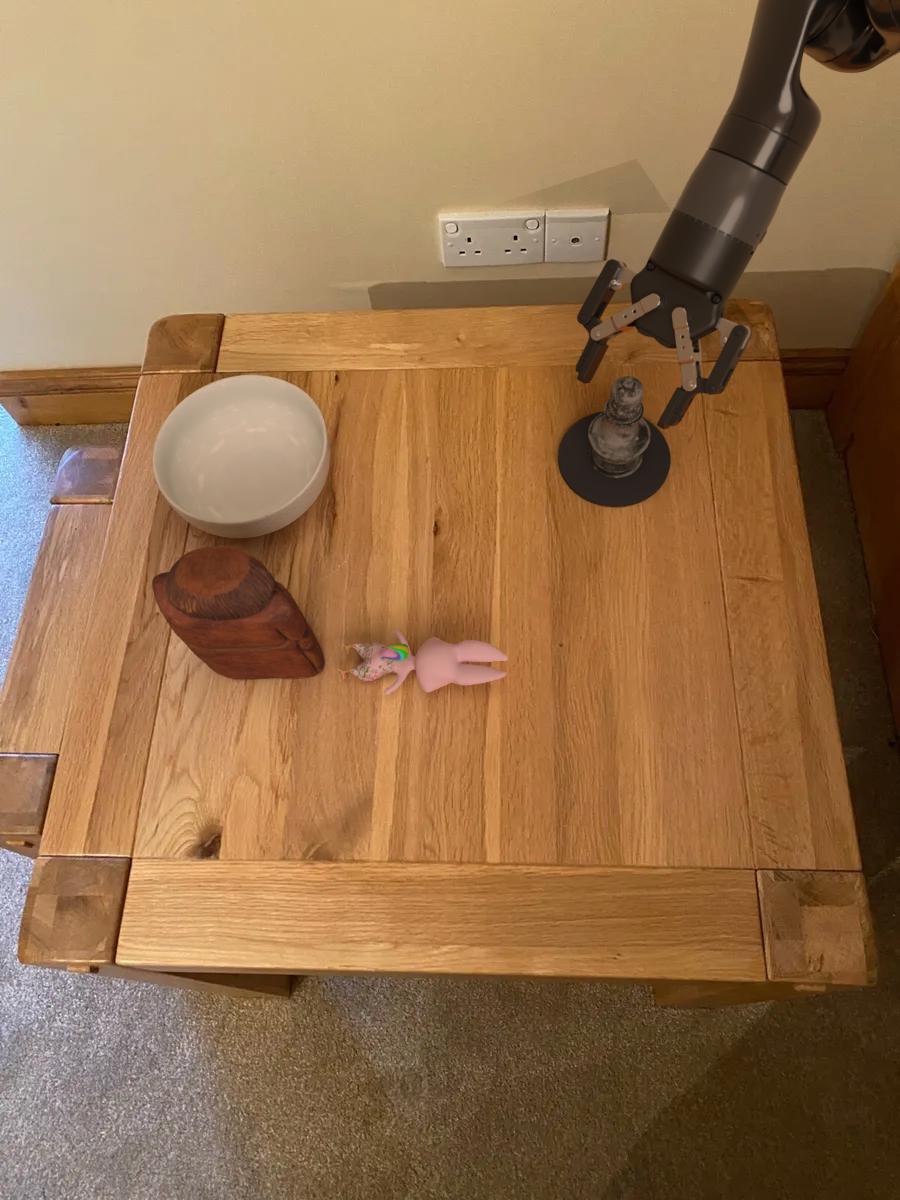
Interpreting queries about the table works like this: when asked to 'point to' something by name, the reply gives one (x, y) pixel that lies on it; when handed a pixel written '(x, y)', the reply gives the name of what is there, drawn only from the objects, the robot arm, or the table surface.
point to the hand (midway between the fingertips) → (622, 404)
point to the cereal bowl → (243, 456)
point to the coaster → (608, 488)
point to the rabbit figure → (427, 662)
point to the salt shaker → (619, 431)
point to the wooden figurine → (237, 616)
